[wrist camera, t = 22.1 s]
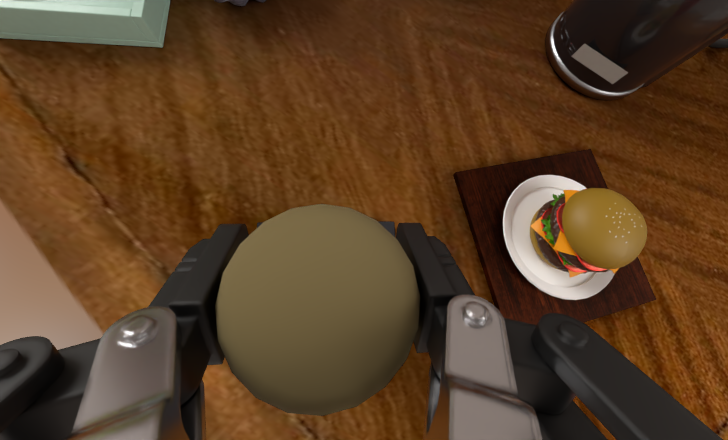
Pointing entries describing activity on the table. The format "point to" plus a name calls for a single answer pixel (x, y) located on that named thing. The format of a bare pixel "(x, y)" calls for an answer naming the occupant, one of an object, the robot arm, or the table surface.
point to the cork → (317, 309)
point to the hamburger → (555, 238)
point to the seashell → (237, 2)
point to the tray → (86, 21)
